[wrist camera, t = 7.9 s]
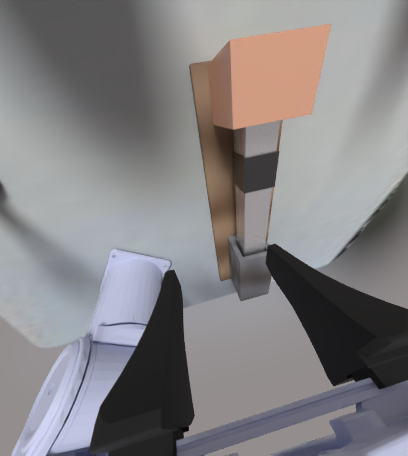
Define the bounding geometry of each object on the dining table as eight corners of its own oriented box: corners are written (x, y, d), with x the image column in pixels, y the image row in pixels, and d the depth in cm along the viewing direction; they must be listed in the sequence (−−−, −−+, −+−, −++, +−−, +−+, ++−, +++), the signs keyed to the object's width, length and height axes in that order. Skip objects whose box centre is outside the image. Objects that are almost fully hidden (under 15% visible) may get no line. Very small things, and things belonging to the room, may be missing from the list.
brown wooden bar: (261, 267, 29) (278, 293, 25) (220, 278, 29) (229, 307, 24) (287, 49, 13) (348, 17, 8) (189, 66, 12) (202, 40, 8)
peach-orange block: (270, 113, 15) (311, 113, 10) (213, 124, 14) (233, 129, 10) (275, 53, 12) (331, 23, 8) (207, 65, 12) (230, 39, 8)
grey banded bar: (254, 249, 23) (264, 264, 21) (235, 254, 23) (243, 270, 21) (266, 72, 12) (290, 62, 10) (229, 78, 12) (245, 70, 9)
